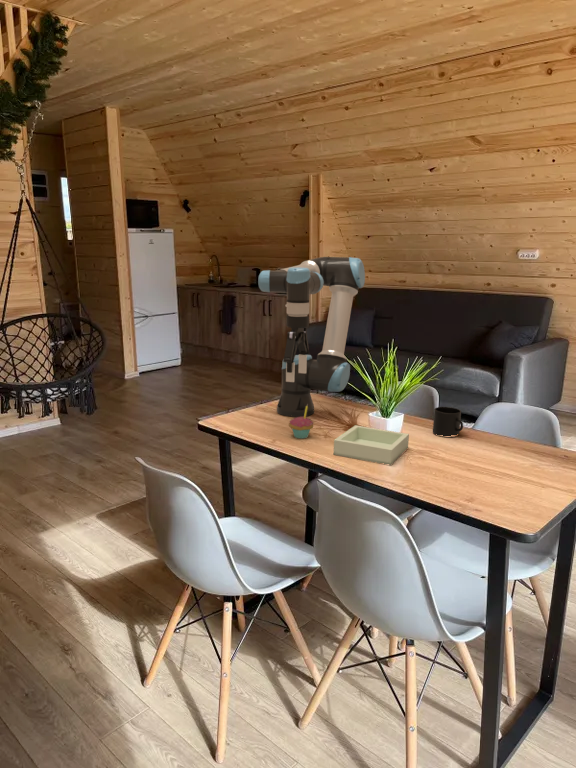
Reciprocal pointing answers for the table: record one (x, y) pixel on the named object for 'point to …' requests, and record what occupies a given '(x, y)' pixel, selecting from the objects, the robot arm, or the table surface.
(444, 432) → the mug
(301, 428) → the cupcake
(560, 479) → the table surface
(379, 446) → the serving bin
